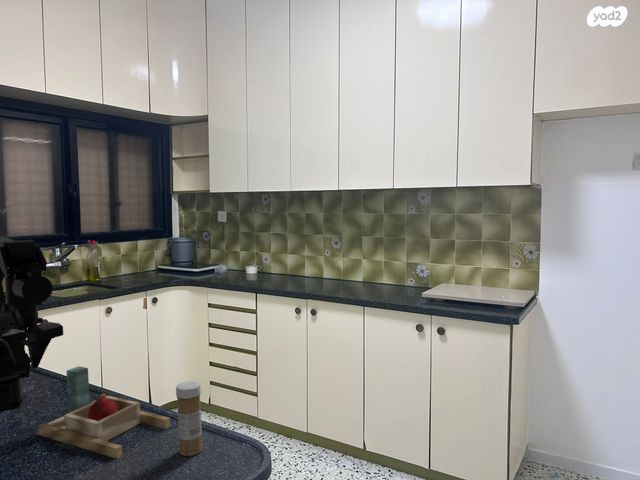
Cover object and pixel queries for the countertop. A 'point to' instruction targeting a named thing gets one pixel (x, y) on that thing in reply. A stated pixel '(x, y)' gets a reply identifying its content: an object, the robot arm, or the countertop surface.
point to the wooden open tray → (81, 406)
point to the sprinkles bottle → (189, 418)
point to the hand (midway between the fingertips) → (26, 366)
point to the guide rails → (95, 443)
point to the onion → (102, 408)
